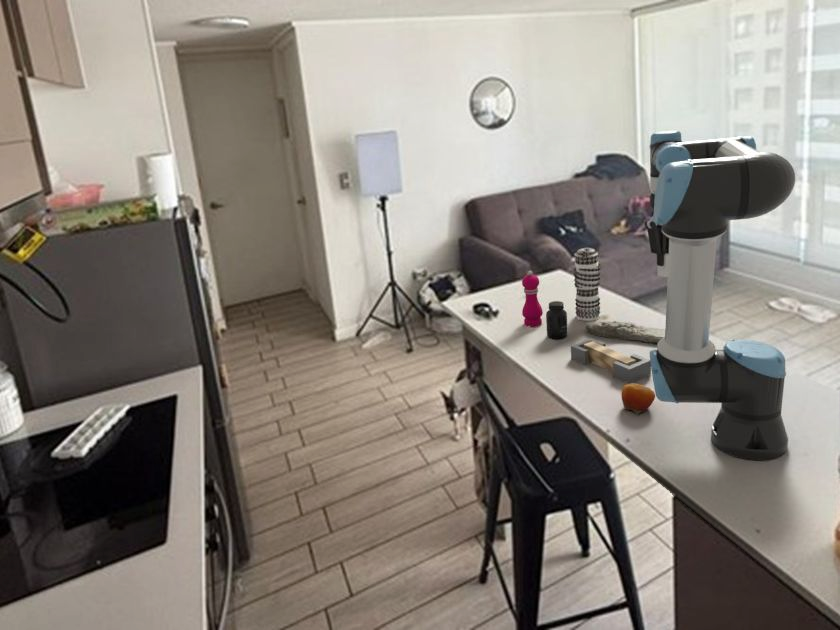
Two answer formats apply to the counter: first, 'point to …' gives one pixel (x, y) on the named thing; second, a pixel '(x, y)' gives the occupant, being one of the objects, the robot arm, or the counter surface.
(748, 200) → the robot arm
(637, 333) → the long grey stone
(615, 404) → the counter surface
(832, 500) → the counter surface
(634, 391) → the fruit
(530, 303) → the pepper mill
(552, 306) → the supplement bottle
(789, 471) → the counter surface
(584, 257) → the decorative candle
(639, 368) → the end caps
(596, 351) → the oak slat
